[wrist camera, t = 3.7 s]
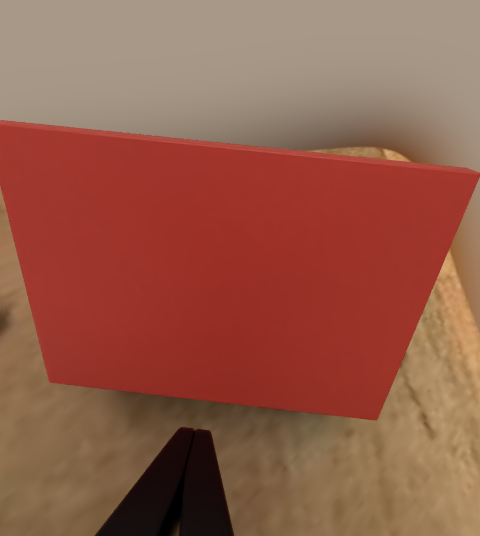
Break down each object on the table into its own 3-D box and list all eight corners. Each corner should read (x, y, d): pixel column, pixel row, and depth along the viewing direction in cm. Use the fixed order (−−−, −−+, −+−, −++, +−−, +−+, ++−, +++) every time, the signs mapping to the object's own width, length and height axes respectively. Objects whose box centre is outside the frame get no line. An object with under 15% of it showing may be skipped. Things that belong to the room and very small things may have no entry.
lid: (2, 119, 10) (-17, 121, 10) (467, 167, 10) (482, 173, 10) (59, 369, 15) (48, 383, 15) (371, 405, 15) (377, 421, 14)
